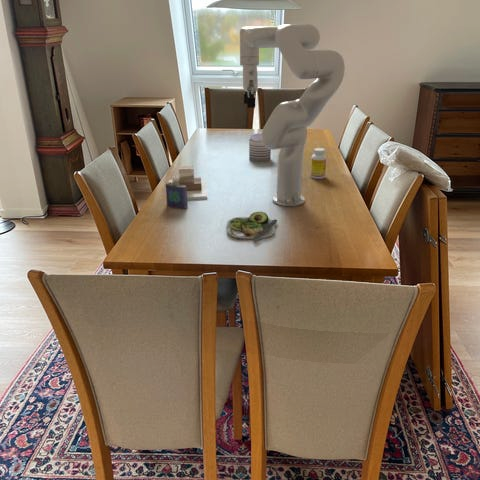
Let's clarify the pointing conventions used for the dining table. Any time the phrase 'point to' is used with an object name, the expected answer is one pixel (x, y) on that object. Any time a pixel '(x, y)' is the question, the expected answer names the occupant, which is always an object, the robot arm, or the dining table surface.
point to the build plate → (197, 192)
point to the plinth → (191, 184)
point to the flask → (176, 195)
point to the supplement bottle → (318, 164)
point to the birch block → (186, 174)
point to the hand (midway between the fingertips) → (249, 105)
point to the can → (258, 149)
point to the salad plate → (252, 226)
